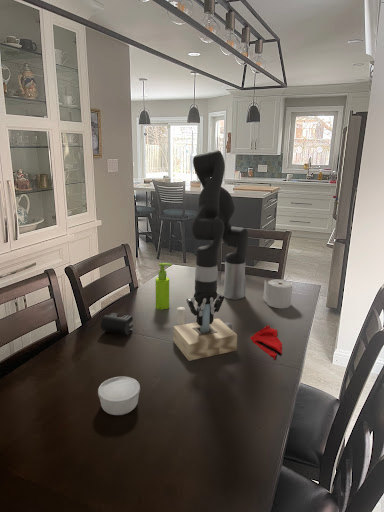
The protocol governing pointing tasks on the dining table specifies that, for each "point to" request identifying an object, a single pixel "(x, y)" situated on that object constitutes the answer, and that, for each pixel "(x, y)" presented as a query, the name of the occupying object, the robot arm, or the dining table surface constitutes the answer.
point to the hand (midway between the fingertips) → (204, 323)
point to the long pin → (205, 319)
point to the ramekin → (119, 395)
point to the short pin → (229, 325)
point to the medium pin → (180, 316)
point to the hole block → (204, 339)
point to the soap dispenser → (162, 288)
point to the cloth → (267, 341)
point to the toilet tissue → (278, 293)
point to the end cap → (117, 324)
